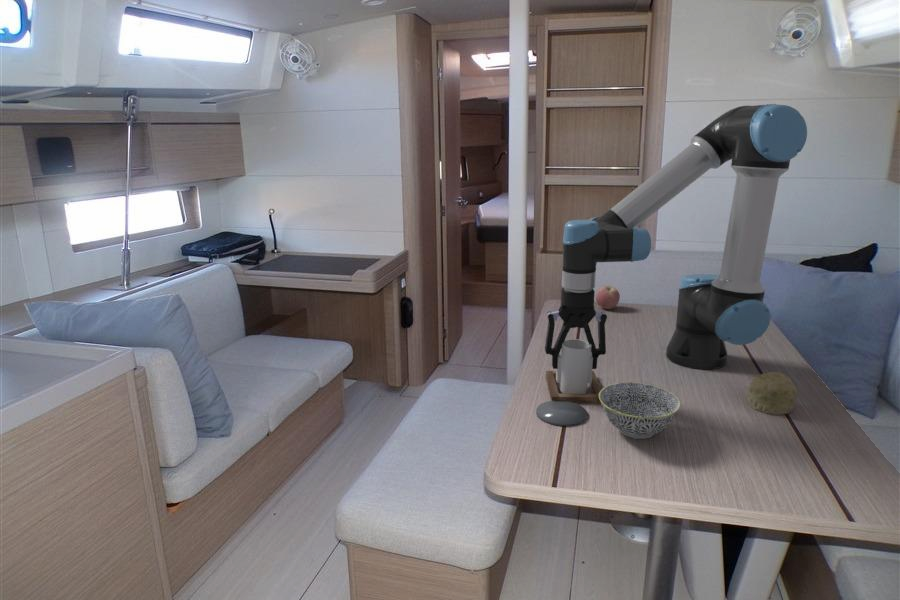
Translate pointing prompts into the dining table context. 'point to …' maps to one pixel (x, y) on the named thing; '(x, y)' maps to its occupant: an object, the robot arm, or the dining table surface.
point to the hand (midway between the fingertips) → (573, 380)
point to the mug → (575, 366)
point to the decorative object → (772, 393)
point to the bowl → (638, 408)
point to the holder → (573, 397)
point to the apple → (607, 297)
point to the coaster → (561, 413)
